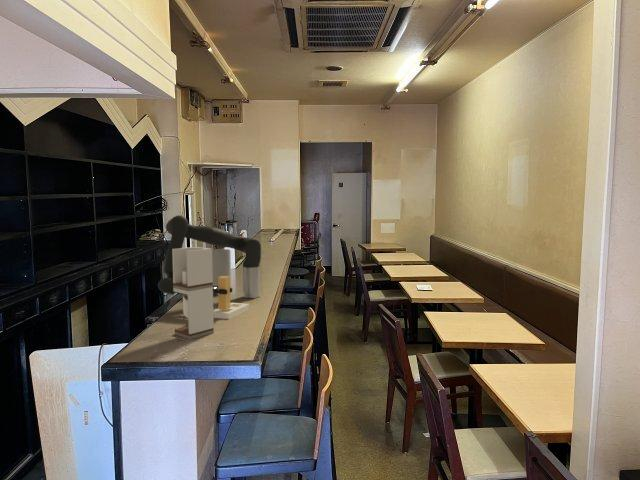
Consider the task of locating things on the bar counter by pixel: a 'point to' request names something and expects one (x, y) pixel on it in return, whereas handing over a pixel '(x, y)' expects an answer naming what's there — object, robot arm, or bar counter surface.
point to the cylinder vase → (221, 264)
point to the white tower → (194, 289)
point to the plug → (224, 298)
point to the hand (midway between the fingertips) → (229, 291)
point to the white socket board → (230, 311)
